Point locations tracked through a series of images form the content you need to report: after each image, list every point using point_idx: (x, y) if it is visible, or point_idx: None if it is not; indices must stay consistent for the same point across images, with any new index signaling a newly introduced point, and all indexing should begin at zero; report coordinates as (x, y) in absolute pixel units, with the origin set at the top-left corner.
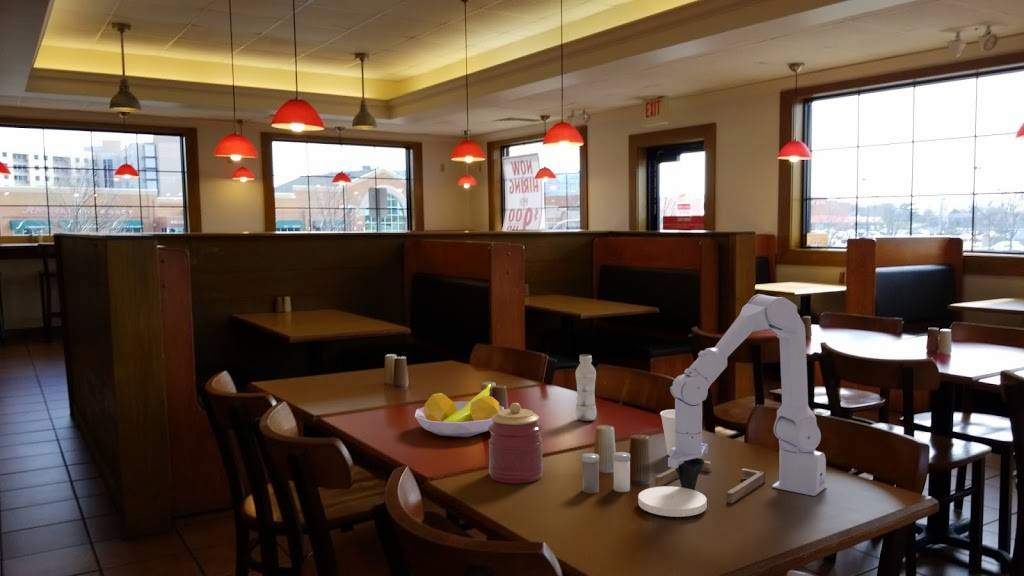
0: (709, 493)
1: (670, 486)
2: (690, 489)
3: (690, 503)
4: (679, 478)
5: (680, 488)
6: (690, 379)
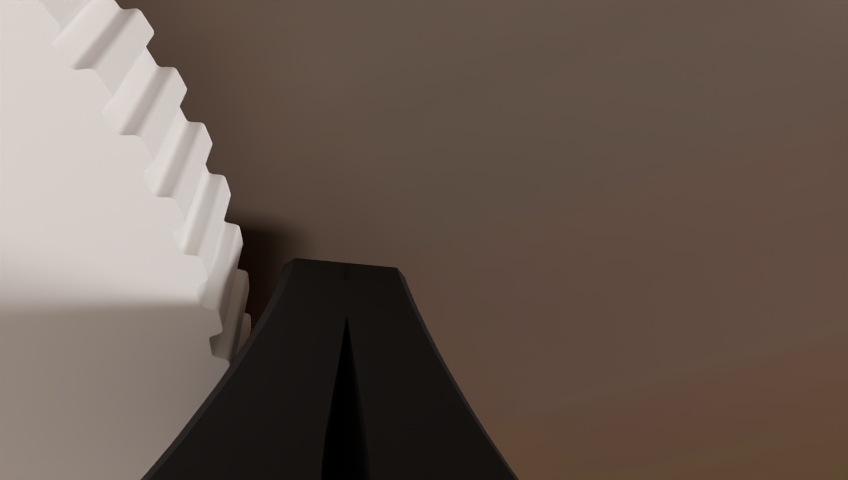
0: (644, 444)
1: (100, 107)
2: None
3: None
4: (176, 437)
5: (128, 334)
6: None
